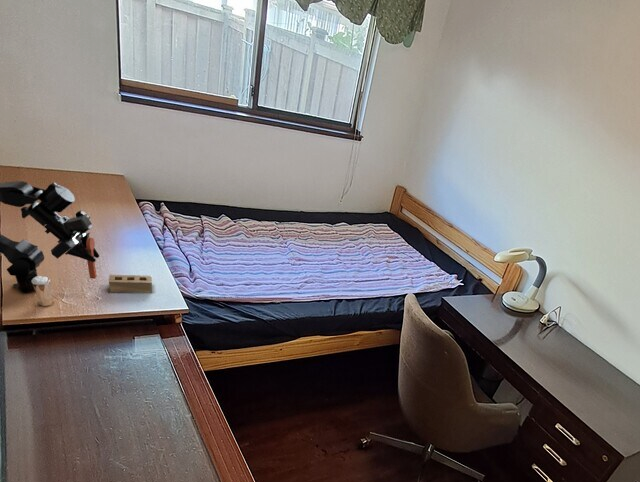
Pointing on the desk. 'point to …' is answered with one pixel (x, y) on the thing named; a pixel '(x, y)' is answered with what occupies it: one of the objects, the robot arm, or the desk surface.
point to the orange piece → (91, 265)
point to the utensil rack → (130, 283)
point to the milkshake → (42, 290)
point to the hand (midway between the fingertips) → (96, 259)
